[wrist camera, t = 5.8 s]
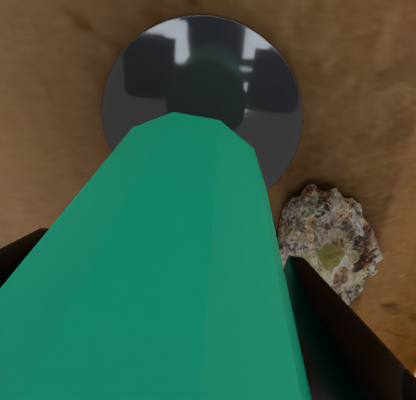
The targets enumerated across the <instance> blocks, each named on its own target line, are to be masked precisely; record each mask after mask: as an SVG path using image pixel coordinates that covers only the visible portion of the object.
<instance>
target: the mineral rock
mask: <svg viewBox="0 0 416 400" xmlns="http://www.w3.org/2000/svg"><path fill="white" fill-rule="evenodd" d="M362 211H363V206H361V205H360V204H359V203H358V202H356V201H355V200H354V199H353V198H344V197H343V196H342V195H341V193H340V192H338V190H337V188H333V189H332V188H330V189H328V190H327V191H325V192H323V191H320V190H319V189H318V188H317V186H316V185H314V184H310V185H308V186H306V187H305V188H304V190H303V191H302V193H301V195H300V196H299V197H294V198H291V199H290V200H289V201H288V202H287V203H286V204H285V206H284V208H283V211H282V216H281V217H280V219H279V221H278V238H277V241H278V246H279V250H280V255H281V259H282V264H283V268H284V265H285V262H286V259H287V258H288V257H289V256H298V257H303V258H304V259H305V260H306V261H307V262H308V263H309V264H310V265H311V266H312V267H313V268H314V269H315V270H316V271H317V272H318V273H319V275H320V276H321V277H322V278H323V279H324V280H325V281H326V282H327V283H328V284H329V285H330V286H331V287H332V289H333V290H334V291H335V292H336V293H337V294H338V295H339V296H340V297H341V298H342V299H343V300H344V301H345V302H346V304H347V305H350V302H351V301H352V300H354V299H355V298H356V297H357V296H358V295H360V293H361V291H362V290H363V289H364V287H365V284H364V282H365V278H366V276H367V275H371V276H374V275H375V274H376V272H377V270H378V268H376V267H375V265H376V263H378V262H380V261H382V259H383V258H384V256H383V254H382V253H381V252H380V247H379V245H378V244H377V238H376V237H375V235H374V232H373V231H372V230H373V228H372V227H370V222H369V221H367V220H366V219H365V218H364V217H363V215H362Z"/></svg>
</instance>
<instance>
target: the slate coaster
mask: <svg viewBox="0 0 416 400" xmlns="http://www.w3.org/2000/svg"><path fill="white" fill-rule="evenodd" d="M172 112H176V113H182V114H188V115H193V116H199V117H205V118H210V119H216V120H220V121H221V122H223V123H224V124H225V125H226V126H227V127H229V128H230V129H231V130H232V131H233V132H235V133H236V134H237V135H238V136H239V137H241V138H242V139H243V140H244V141H245V142H247V143H248V144H249V145H250V146H251V147H253V148H254V151H255V154H256V157H257V160H258V163H259V167H260V170H261V173H262V176H263V179H264V182H265V186H266V190H268V189H270V188H271V187H272V186H273V185H274V184H275V183H276V182H277V181H278V180H279V179H280V178H281V176H282V175H283V174H284V172H285V171H286V170H287V168H288V166H289V165H290V163H291V161H292V159H293V157H294V155H295V152H296V150H297V147H298V144H299V140H300V136H301V131H302V123H303V113H302V102H301V96H300V92H299V88H298V85H297V82H296V79H295V77H294V75H293V73H292V71H291V69H290V67H289V65H288V64H287V62H286V61H285V59H284V58H283V56H282V55H281V54H280V53H279V51H278V50H277V49H276V48H275V47H274V46H273V45H272V44H271V43H270V42H269V41H268V40H267V39H265V38H264V37H263V36H262V35H261V34H259V33H258V32H256V31H255V30H253V29H251V28H250V27H248V26H246V25H244V24H242V23H239V22H237V21H235V20H232V19H229V18H224V17H220V16H216V15H205V14H196V15H184V16H180V17H175V18H171V19H168V20H165V21H163V22H160V23H158V24H155V25H154V26H152V27H150V28H148V29H147V30H145V31H143V32H142V33H141V34H139V35H138V36H137V37H136V38H135V39H133V40H132V41H131V42H130V43H129V44H128V45H127V47H126V48H125V49H124V50H123V51H122V52H121V54H120V55H119V57H118V58H117V60H116V61H115V63H114V65H113V67H112V69H111V71H110V73H109V75H108V78H107V82H106V85H105V88H104V94H103V101H102V119H103V127H104V132H105V136H106V140H107V143H108V145H109V148H110V150H111V153H112V152H113V151H114V149H115V148H116V147H117V146H118V144H119V143H120V142H121V141H122V140H123V138H124V137H125V136H126V135H127V134H128V132H129V131H130V130H131V129H132V127H135V126H138V125H140V124H143V123H146V122H148V121H151V120H154V119H156V118H159V117H162V116H164V115H167V114H169V113H172Z"/></svg>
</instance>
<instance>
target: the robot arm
mask: <svg viewBox="0 0 416 400" xmlns="http://www.w3.org/2000/svg"><path fill="white" fill-rule="evenodd" d="M48 230H49V229H48V228H40V229H38V230H36V231H34V232H32V233H30V234H28V235H26V236H24V237H22V238H20V239H18V240H16V241H15V242H13V243H11V244H9V245H7V246H5V247H3V248H1V249H0V288H1V287H2V286H3V284H4V283H5V282H6V281H7V279H8V278H9V277H10V276H11V275H12V273H13V272H14V271H15V270H16V268H17V267H18V266H19V265H20V264H21V262H22V261H23V260H24V259H25V258H26V256H27V255H28V254H29V253H30V251H31V250H32V249H33V248H34V247H35V245H36V244H37V243H38V242H39V241H40V239H41V238H42V237H43V236H44V234H45V233H46V232H47V231H48ZM283 269H284V273H285V278H286V283H287V287H288V292H289V296H290V301H291V306H292V310H293V315H294V319H295V324H296V329H297V333H298V338H299V343H300V347H301V352H302V356H303V361H304V366H305V370H306V375H307V380H308V384H309V389H310V393H311V398H312V400H416V377H414V375H413V374H412V373H411V372H410V371H409V370H408V369H405V366H404V365H403V364H402V363H401V362H400V360H399V359H398V358H397V357H396V356H395V355H394V354H393V353H392V352H391V351H390V350H389V349H388V348H387V347H386V345H385V344H384V343H383V342H382V341H381V340H380V339H379V338H378V337H377V336H376V335H375V334H374V333H373V331H372V330H371V329H370V328H369V327H368V326H367V325H366V324H365V323H364V322H363V321H362V320H361V319H360V318H359V316H358V315H357V314H356V313H355V312H354V311H353V310H352V309H351V308H350V307H349V306H348V305H347V304H346V302H345V301H344V300H343V299H342V298H341V297H340V296H339V295H338V294H337V293H336V292H335V291H334V290H333V289H332V287H331V286H330V285H329V284H328V283H327V282H326V281H325V280H324V279H323V278H322V277H321V276H320V275H319V273H318V272H317V271H316V270H315V269H314V268H313V267H312V266H311V265H310V264H309V263H308V262H307V261H306V260H305V259H304V258H303V257H298V256H289V257H288V258H287V259H286V262H285V265H284V268H283Z"/></svg>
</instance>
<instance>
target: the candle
mask: <svg viewBox="0 0 416 400" xmlns="http://www.w3.org/2000/svg"><path fill="white" fill-rule="evenodd" d="M0 400H312V398H311V393H310V389H309V384H308V380H307V375H306V370H305V366H304V361H303V356H302V352H301V347H300V343H299V338H298V333H297V329H296V324H295V319H294V315H293V310H292V306H291V301H290V296H289V292H288V287H287V283H286V278H285V273H284V269H283V264H282V259H281V255H280V250H279V246H278V241H277V236H276V232H275V227H274V223H273V218H272V213H271V209H270V204H269V199H268V195H267V190H266V186H265V182H264V179H263V176H262V173H261V170H260V167H259V163H258V160H257V157H256V154H255V151H254V148H253V147H251V146H250V145H249V144H248V143H247V142H245V141H244V140H243V139H242V138H241V137H239V136H238V135H237V134H236V133H235V132H233V131H232V130H231V129H230V128H229V127H227V126H226V125H225V124H224V123H223V122H221V121H220V120H216V119H210V118H205V117H199V116H193V115H188V114H182V113H176V112H172V113H169V114H167V115H164V116H162V117H159V118H156V119H154V120H151V121H148V122H146V123H143V124H140V125H138V126H135V127H132V129H131V130H130V131H129V132H128V134H127V135H126V136H125V137H124V138H123V140H122V141H121V142H120V143H119V144H118V146H117V147H116V148H115V149H114V151H113V152H112V153H111V154H110V155H109V157H108V158H107V159H106V160H105V162H104V163H103V164H102V165H101V166H100V168H99V169H98V170H97V171H96V172H95V174H94V175H93V176H92V177H91V179H90V180H89V181H88V182H87V183H86V185H85V186H84V187H83V188H82V189H81V191H80V192H79V193H78V194H77V196H76V197H75V198H74V199H73V200H72V202H71V203H70V204H69V205H68V206H67V208H66V209H65V210H64V211H63V213H62V214H61V215H60V216H59V217H58V219H57V220H56V221H55V222H54V224H53V225H52V226H51V227H50V228H49V230H48V231H47V232H46V233H45V234H44V236H43V237H42V238H41V239H40V241H39V242H38V243H37V244H36V245H35V247H34V248H33V249H32V250H31V251H30V253H29V254H28V255H27V256H26V258H25V259H24V260H23V261H22V262H21V264H20V265H19V266H18V267H17V268H16V270H15V271H14V272H13V273H12V275H11V276H10V277H9V278H8V279H7V281H6V282H5V283H4V284H3V286H2V287H1V288H0Z"/></svg>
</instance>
